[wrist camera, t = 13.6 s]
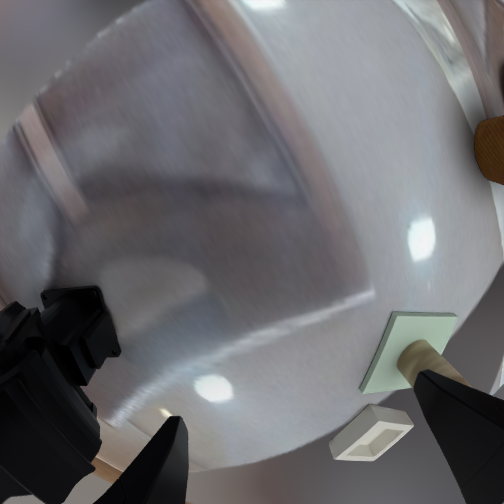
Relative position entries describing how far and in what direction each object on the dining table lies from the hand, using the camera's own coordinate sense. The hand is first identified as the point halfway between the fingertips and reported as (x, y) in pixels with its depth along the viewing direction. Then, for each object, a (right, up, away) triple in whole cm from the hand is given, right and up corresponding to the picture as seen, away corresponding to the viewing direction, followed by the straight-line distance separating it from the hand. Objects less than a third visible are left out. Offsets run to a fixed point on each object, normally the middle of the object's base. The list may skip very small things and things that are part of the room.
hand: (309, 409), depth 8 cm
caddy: (+12, -16, +18) cm, 27 cm away
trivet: (+14, -5, +15) cm, 21 cm away
